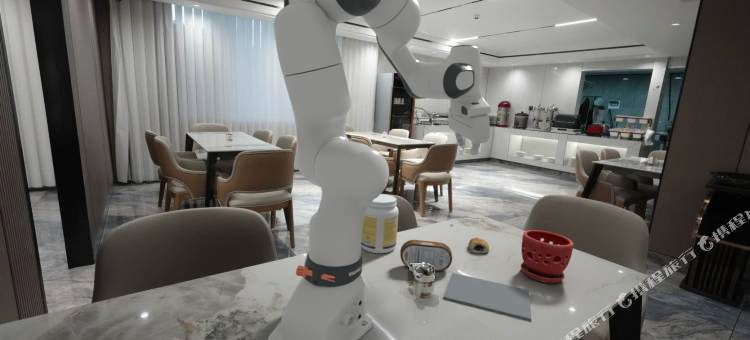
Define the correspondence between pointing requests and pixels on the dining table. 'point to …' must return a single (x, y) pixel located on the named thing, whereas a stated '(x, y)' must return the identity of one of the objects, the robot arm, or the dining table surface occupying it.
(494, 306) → the mat
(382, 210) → the supplement tub
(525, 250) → the plant pot
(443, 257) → the tin
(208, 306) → the dining table surface
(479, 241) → the pastry
